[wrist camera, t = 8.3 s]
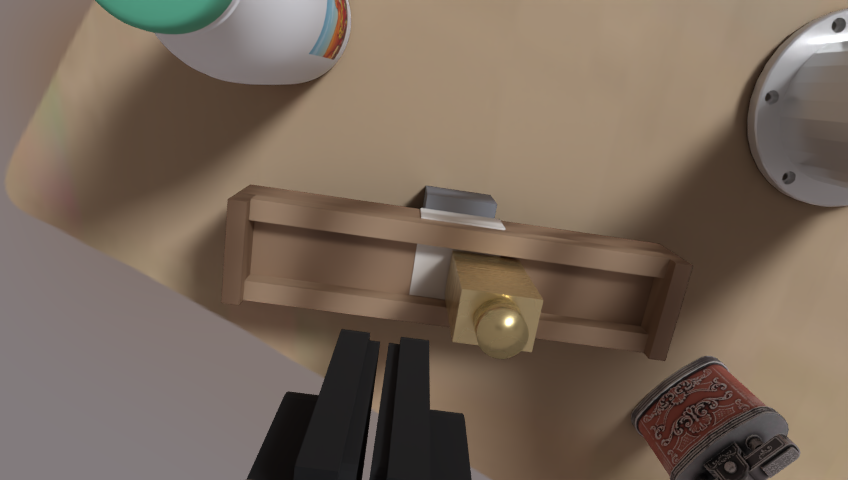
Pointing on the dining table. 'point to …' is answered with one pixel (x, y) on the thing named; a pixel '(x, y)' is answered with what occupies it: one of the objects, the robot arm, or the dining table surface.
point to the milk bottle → (245, 35)
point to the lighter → (713, 426)
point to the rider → (492, 304)
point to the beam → (445, 264)
